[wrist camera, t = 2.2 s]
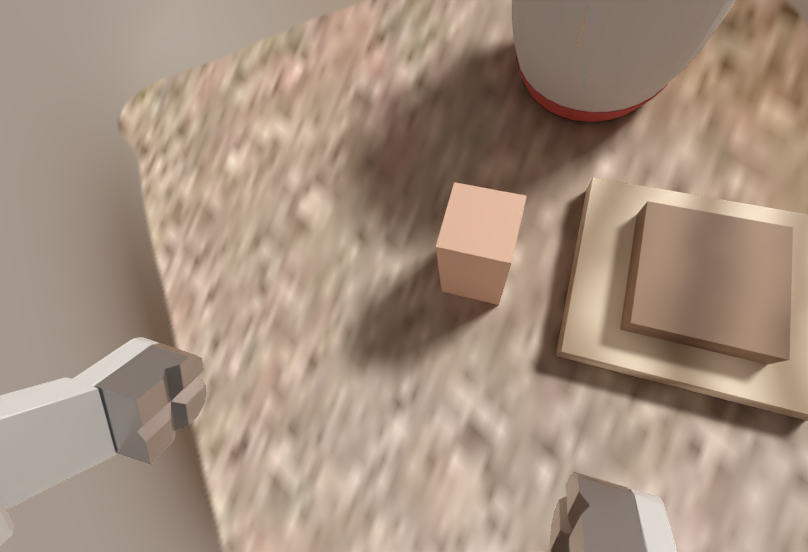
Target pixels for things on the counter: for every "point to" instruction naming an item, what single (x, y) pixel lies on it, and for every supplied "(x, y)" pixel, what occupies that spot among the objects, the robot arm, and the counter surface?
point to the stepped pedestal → (691, 294)
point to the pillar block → (478, 241)
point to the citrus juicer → (607, 50)
